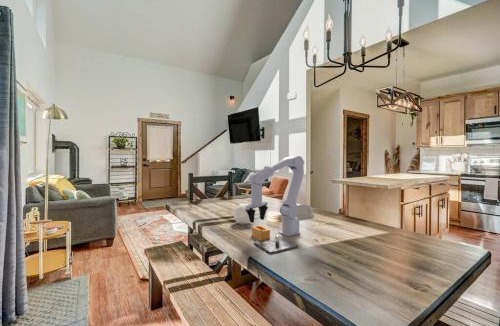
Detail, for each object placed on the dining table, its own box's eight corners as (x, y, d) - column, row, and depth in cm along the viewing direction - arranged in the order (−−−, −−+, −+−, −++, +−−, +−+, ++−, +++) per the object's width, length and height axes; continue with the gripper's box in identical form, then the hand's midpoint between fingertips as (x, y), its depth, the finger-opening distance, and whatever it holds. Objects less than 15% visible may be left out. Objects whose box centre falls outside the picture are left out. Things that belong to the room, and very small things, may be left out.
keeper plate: (280, 238, 134) (280, 228, 134) (298, 247, 121) (298, 236, 121) (253, 243, 127) (253, 233, 126) (269, 254, 113) (269, 242, 113)
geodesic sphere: (229, 218, 155) (242, 200, 156) (226, 213, 168) (238, 196, 170) (247, 231, 158) (260, 212, 159) (243, 225, 171) (254, 208, 173)
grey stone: (295, 220, 171) (292, 205, 174) (291, 220, 175) (288, 206, 178) (314, 216, 179) (311, 203, 182) (310, 217, 183) (307, 204, 186)
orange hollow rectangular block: (260, 233, 142) (260, 225, 142) (269, 239, 133) (269, 229, 133) (252, 235, 140) (251, 226, 140) (261, 240, 131) (261, 231, 131)
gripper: (260, 193, 142) (261, 217, 143) (241, 196, 132) (242, 222, 133) (270, 194, 137) (270, 219, 137) (250, 198, 127) (251, 224, 127)
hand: (257, 220), depth 135 cm, fingers open, 7 cm apart
